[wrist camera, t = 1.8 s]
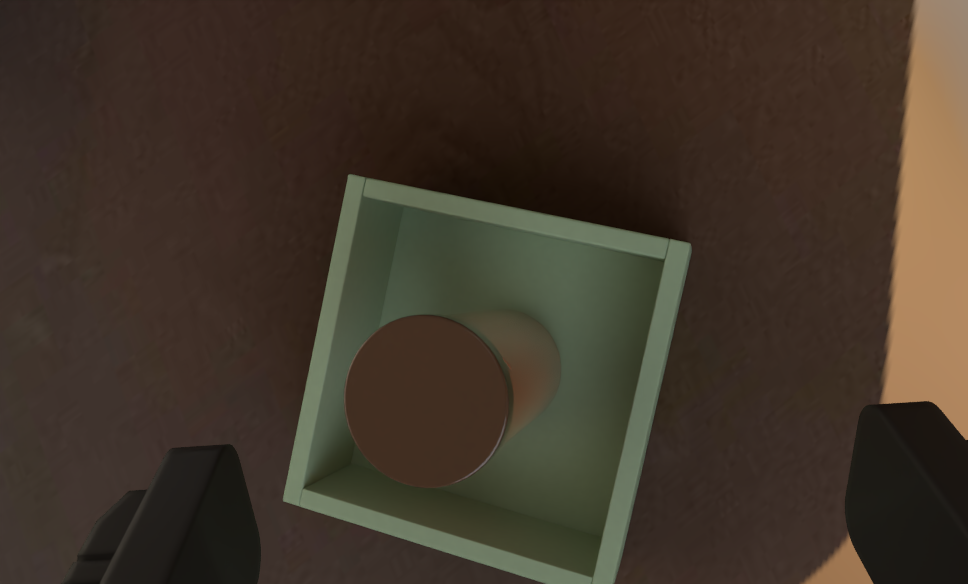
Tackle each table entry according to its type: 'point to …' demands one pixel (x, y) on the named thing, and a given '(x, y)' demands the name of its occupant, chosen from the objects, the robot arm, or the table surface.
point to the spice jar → (448, 392)
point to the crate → (549, 438)
